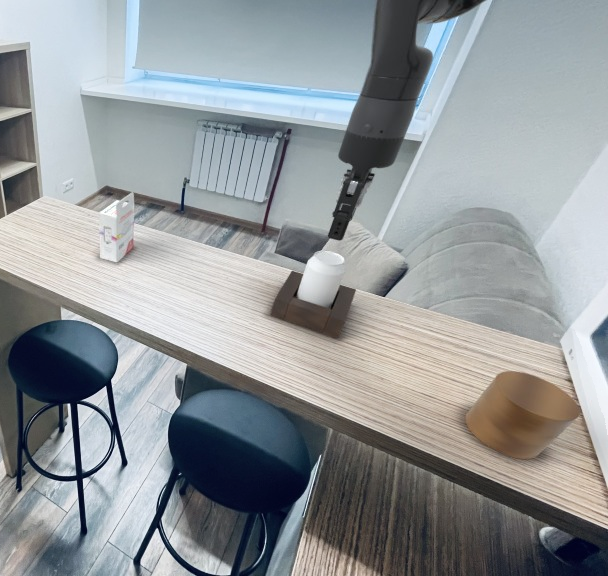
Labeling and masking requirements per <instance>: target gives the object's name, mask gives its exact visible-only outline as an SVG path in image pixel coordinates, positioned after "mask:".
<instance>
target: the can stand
mask: <svg viewBox="0 0 608 576" xmlns="http://www.w3.org/2000/svg"><path fill="white" fill-rule="evenodd" d="M303 274H304V273H301V272H299V271H295V270H291V271H290V274H289V275H288V276H287V278H286V279H285V281H284V283H283V284H282V286H281V288H280V289H279V291H278V293H277V295H275V298H274V301H273V304H272V307H271V311H270V314H269V315H270V316H271V317H274V318H277V319H279V320H284V321H286V322H287V323H292V324H294V325H297V326H300V327H303V328H305V329H309V330H312V331H314V332H317V333H320V334H322V335H326V336H328V337H330V338H334V339H339V337H340V334H341V332H342V330H343V328H344V325H345V323H346V321H347V317H348V315H349V311H350V308H351V306H352V302H353V300H354V297H355V295H356V291H357V289H356V288H353V287H350V286H347V285H342V284H340V286H339V288H338V291H337V293H336V296H335V298H334V301H333V303H332V306H331V308H330V309H329V308H326V307H323V306H320V305H317V304H314V303H310V302H307V301H304V300H301V299H298V298H296V296H297V292H298V289H299V286H300V283H301V280H302V277H303Z"/></svg>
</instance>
